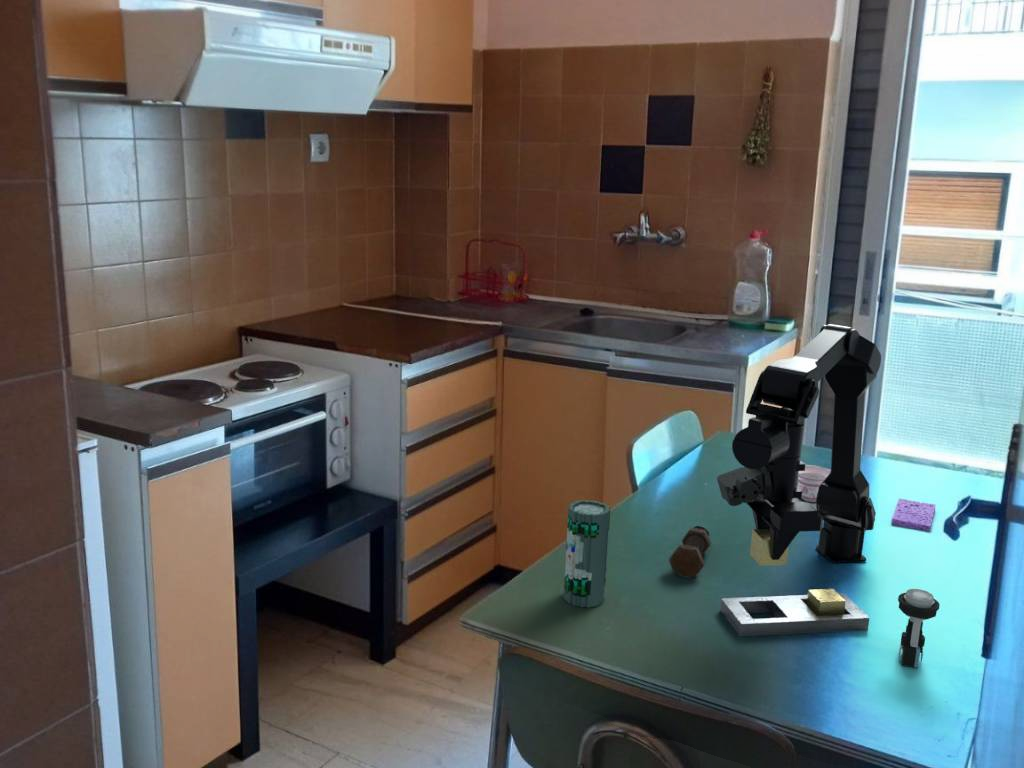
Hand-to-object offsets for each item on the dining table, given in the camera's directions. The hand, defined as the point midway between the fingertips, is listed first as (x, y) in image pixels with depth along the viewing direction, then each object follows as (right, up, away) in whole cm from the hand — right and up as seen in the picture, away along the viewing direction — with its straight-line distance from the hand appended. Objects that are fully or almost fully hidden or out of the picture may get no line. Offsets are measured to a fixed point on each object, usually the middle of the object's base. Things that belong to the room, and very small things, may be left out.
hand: (768, 553), depth 145 cm
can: (-27, -9, +8) cm, 29 cm away
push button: (+18, -14, -6) cm, 24 cm away
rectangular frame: (+5, -11, +4) cm, 12 cm away
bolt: (-7, -6, +24) cm, 26 cm away
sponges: (+40, -2, +47) cm, 62 cm away
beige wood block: (0, -1, 0) cm, 1 cm away
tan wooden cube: (+9, -11, +4) cm, 15 cm away
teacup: (+22, +1, +54) cm, 59 cm away
